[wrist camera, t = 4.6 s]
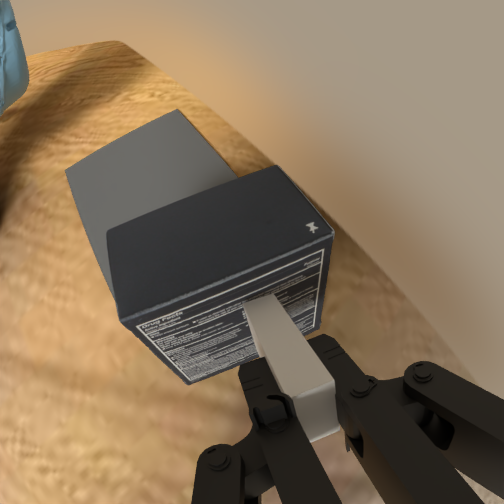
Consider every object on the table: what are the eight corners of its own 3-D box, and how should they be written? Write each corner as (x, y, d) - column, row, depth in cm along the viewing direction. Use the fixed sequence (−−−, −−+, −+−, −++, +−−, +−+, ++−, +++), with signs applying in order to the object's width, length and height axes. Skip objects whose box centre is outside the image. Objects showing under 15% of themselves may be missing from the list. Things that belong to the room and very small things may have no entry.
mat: (65, 171, 31) (64, 170, 31) (177, 110, 35) (177, 109, 35) (121, 312, 24) (120, 311, 24) (273, 220, 28) (273, 218, 28)
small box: (282, 263, 26) (278, 157, 18) (323, 329, 22) (344, 234, 14) (160, 313, 24) (101, 224, 16) (186, 388, 20) (117, 327, 12)
